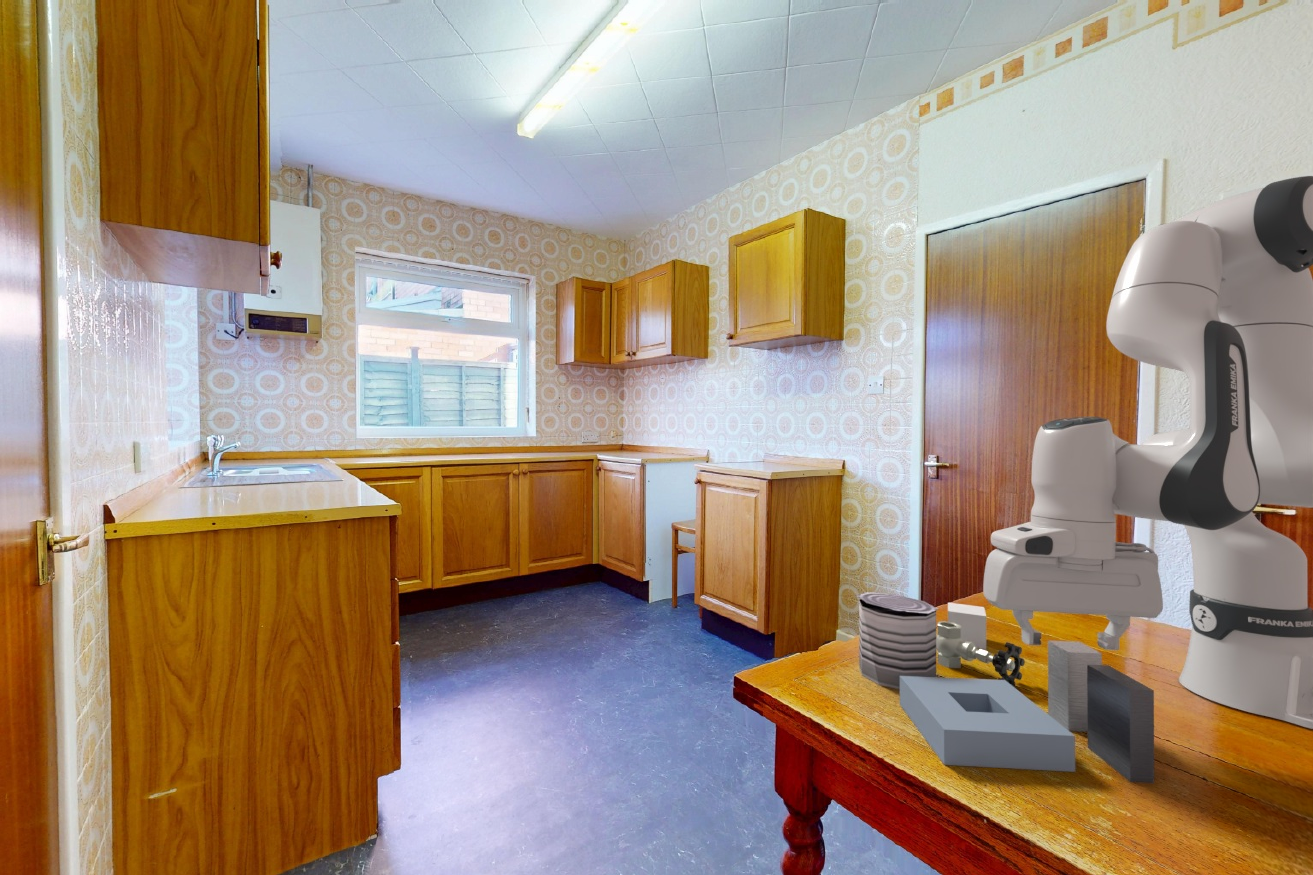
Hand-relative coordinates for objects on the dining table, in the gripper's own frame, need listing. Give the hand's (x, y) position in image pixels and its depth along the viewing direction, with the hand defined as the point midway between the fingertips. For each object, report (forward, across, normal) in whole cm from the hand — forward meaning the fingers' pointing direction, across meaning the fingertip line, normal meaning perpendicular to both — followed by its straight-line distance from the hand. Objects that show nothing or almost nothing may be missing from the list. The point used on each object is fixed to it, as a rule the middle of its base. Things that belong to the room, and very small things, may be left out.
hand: (1069, 646), depth 70 cm
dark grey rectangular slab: (+10, 0, +9) cm, 13 cm away
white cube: (+10, -1, -29) cm, 31 cm away
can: (+11, +17, -13) cm, 24 cm away
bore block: (+10, +13, +4) cm, 17 cm away
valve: (+10, +4, -15) cm, 19 cm away
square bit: (+10, -1, 0) cm, 10 cm away
